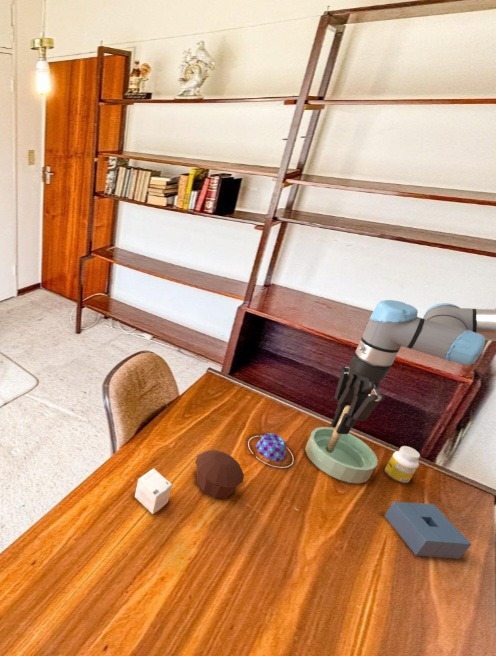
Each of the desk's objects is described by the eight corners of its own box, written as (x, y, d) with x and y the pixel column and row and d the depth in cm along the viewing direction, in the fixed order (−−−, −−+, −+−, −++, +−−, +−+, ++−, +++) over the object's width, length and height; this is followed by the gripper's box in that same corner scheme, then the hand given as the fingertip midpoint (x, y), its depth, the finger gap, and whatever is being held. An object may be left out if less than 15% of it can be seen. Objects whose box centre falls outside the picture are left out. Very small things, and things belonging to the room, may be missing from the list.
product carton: (149, 487, 104) (153, 467, 101) (167, 504, 100) (173, 484, 97) (133, 498, 101) (137, 478, 98) (152, 516, 97) (157, 496, 94)
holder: (422, 520, 99) (434, 504, 96) (458, 560, 90) (471, 544, 87) (382, 517, 99) (393, 501, 96) (414, 557, 90) (426, 541, 88)
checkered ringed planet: (300, 472, 111) (306, 459, 108) (255, 466, 112) (260, 452, 110) (283, 440, 121) (288, 427, 119) (242, 435, 123) (246, 422, 121)
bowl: (345, 443, 121) (352, 428, 119) (382, 487, 107) (392, 471, 105) (294, 440, 122) (300, 425, 119) (324, 483, 108) (332, 467, 105)
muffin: (190, 496, 102) (198, 468, 98) (190, 463, 112) (197, 437, 108) (239, 510, 99) (250, 483, 95) (235, 476, 109) (244, 449, 104)
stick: (329, 449, 114) (351, 404, 107) (333, 454, 112) (355, 408, 105) (323, 449, 114) (344, 403, 107) (327, 454, 112) (348, 408, 105)
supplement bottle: (385, 465, 114) (400, 440, 110) (409, 478, 110) (425, 452, 106) (381, 475, 111) (395, 450, 106) (405, 488, 107) (421, 463, 103)
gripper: (338, 342, 106) (310, 410, 116) (378, 376, 93) (342, 449, 103) (367, 344, 106) (336, 412, 116) (411, 377, 93) (371, 451, 103)
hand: (339, 429), depth 109 cm, fingers closed on stick, 2 cm apart
